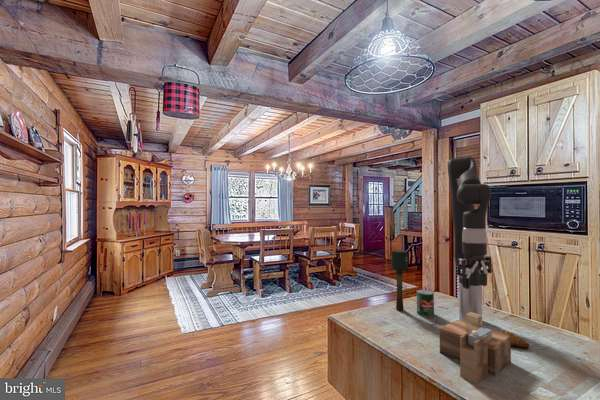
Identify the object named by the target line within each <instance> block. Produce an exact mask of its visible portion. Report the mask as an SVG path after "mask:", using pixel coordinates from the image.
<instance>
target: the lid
mask: <svg viewBox="0 0 600 400" xmlns="http://www.w3.org/2000/svg"><path fill="white" fill-rule="evenodd" d="M465 318H466V322H463V321H461V320H460V319H455V320H453V321H452V322H450V323H448V324H445V325H443V326H441V327H440V328H439V332H440V331H442V332H445V333H448V334H450V335H453V336H456V337H459V338H460V336H462V335H464V334H466V333H468V332H469V331H471V330H472V331H473V330H475V331H476V330H478V329H479V328H481V327H483V314H482V315H479V314H475V313H472V312H469V313H467V314H465ZM491 330H492V329H491ZM499 332H500V331H495V330H492V339H491V340H490V341H488V348H490V349H493V350H495V349H497V348H498V347H499V346H501V345H502V344H504V343H505V342H506V341H508V340H509V339H510V336H509V335H506V334H502V333H499Z"/></svg>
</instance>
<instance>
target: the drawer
mask: <svg viewBox="0 0 600 400" xmlns="http://www.w3.org/2000/svg"><path fill="white" fill-rule="evenodd" d="M484 335H488V341H490V340H491V339H492V329H490V328H487V327H483V326H482V327H481V328H479V329H478V330H476V331H475V330H473V331H472V333H470V334H469V335H468V344H469V345H472V346H474V341H476V340H478V339H479V338H481V337H483V336H484Z"/></svg>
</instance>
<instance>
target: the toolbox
mask: <svg viewBox="0 0 600 400" xmlns="http://www.w3.org/2000/svg"><path fill="white" fill-rule="evenodd" d="M470 333H472V330H471V331H469V332H468V333H466V334H464V335H462V336H460V338H459V337H456V336H453V335H450V334H448V333H445V332H442V331H440V330H439V354H442V355H444V356H446V357H449V358H452V359H454V360H456V361H458V362H459V374H460V375H459V377H461V378H463V379H464V380H465V379H466V380H468V381H470V382H472V383H474V384H478V383H479V382H480V381H482V380H483V379H484V378H486V377H487V376H488V375H489V374H490V375H492V376H496V375H498V374H499V373H500V372H501V371H503V369H505V368H506V367H507V366H509V365H510V364H511V363H512V346H511V339H509V340H508V341H506V342H505V343H504V344H502V345H501V346H499V347H498V348H497V349H495V350H493V349H490V348H488V335H484V336H483V337H481V338H479V339H478V340H476V341H474V346H472V345H469V344H468V335H469V334H470Z"/></svg>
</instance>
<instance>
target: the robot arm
mask: <svg viewBox="0 0 600 400" xmlns="http://www.w3.org/2000/svg"><path fill="white" fill-rule="evenodd" d="M447 173H448V182H449V189H450V197H451V201H450V202H451V216H452V223H453V232H454V233H453V235H454V236H453V237H454V263H455V265H456V266H457V267H456V275H457V276H458V306H459V307H458V314H459V315H458V316H459V317H458V320H460V321H463V322H466V318H465V314H467V313H469V312H472V313H475V314H479V315H482V316H483V290H482V289H483V286H484V287H488V275H489V274H492V272H493V268H492V256H491V255H488V235H487V221H486V220H487V218H486V217H487V212H488V211H487V210H488V207H489V205H490V201H491V198H492V194H493V193H492V192H493V191H492V188H491V187H490V186H489V185H488V184H485V183H481V181H480V178H479V173H478V165H477V161H476V160H475V158H474V157H473V156H465V157H464V156H463V157H454V158H450V159H448V161H447ZM475 205H478V207H475Z"/></svg>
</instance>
